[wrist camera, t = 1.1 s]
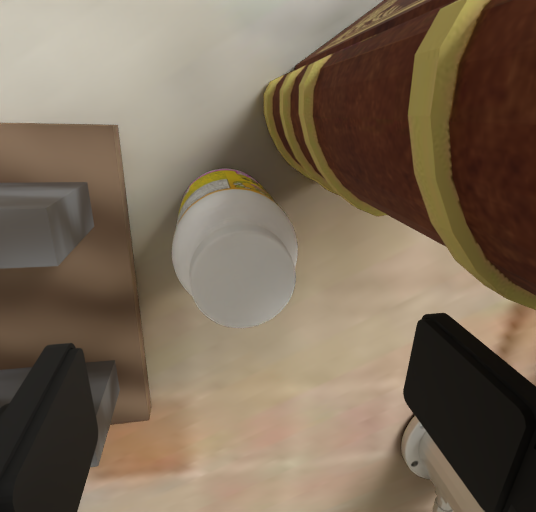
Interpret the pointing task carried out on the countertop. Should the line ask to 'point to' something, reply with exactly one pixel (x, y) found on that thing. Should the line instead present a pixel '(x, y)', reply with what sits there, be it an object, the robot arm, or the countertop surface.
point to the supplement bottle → (234, 249)
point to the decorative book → (427, 127)
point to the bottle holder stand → (70, 264)
